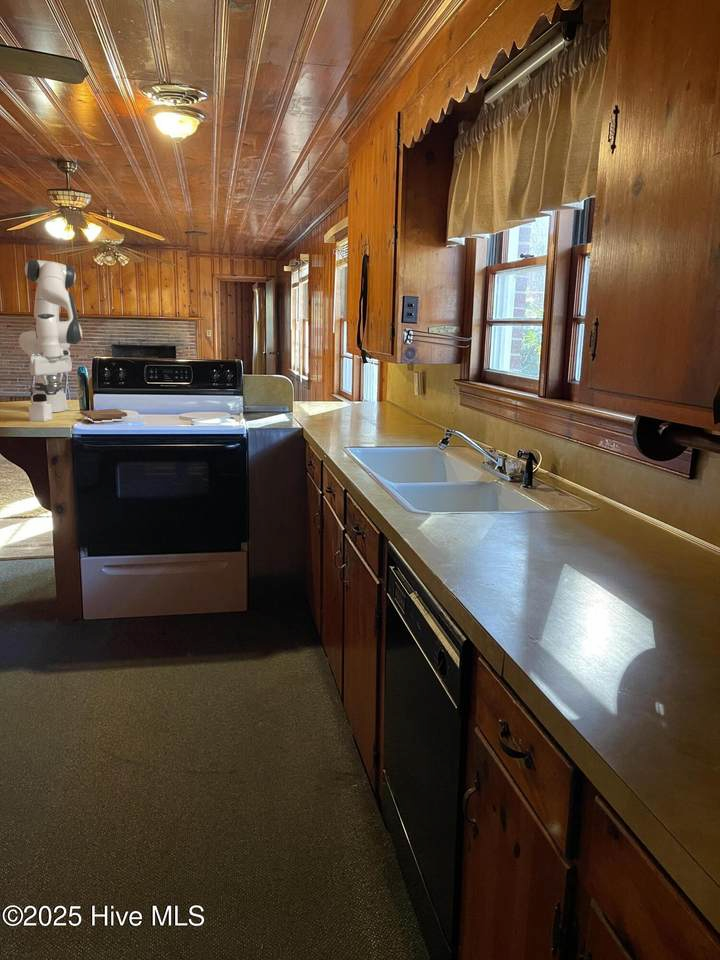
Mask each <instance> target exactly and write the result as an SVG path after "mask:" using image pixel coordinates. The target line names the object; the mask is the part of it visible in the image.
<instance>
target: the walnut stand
mask: <svg viewBox="0 0 720 960" xmlns="http://www.w3.org/2000/svg"><path fill="white" fill-rule="evenodd" d="M80 412H81V413H80V414H81V416H83V417H86V418H90V419H92V420H93V421H102V420H112V419H122V418H124V417H125V418H126V417H128V413H127V412H125V411H122V410H120V409H117V408H110V409H93V410H81V411H80Z"/></svg>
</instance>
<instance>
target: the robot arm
mask: <svg viewBox="0 0 720 960" xmlns="http://www.w3.org/2000/svg"><path fill="white" fill-rule="evenodd" d="M24 274H25V276H26V279H27V280H28V281H30V282H32V283H37V286H36V290H35V296H34V308H33V309H34V310H33V316H34V318H35V320H36V321H35V324H36V325H35V328H34V329H35V330H27V331H23V332H22V333H21V334H20V335H19V338H18V343H19V347H20V348H21V349H22V351H24V352H25V353H26V354H27V355H28V357H29V375H31V376H34V378H35V382H34V390H35V391H34V394H45V395H46V396H47V403H46V404H51V407H52V413H59V412H66V411H70V410H71V407H69V406H68V405H67V404H68V403H67V397H66V393H65V392H64V391H62V388H63V387H62V386H63V385H62V382H63V381H62V378H63V376H64V373H70V372H72V371H73V364H72V357H71V356H70V355H71V351H70V350H69V349H70V347H71V345H76V344H78V343H79V342H80V341H82V339H83V330H82V327H81V324H80V321H79V316H78V312H77V308H76V305H75V304H76V303H75V300H74V296H73V294H72V293H71V292H70V291H68V290H67V289H70V288H71V287H73V285H74V284H75V282H76V279H77V277H76V275H77V274H76V271H75V268H74V267H73V266H71V265H68V264H63V263H60V262H56V261H49V260H44V259H43V260H42V259H41V260H40V259H36V258H32V259H28V261H27V262H26V264H25V266H24ZM60 307H62V308H64V309H65V310H66V312H67V315H68V316H67V317H68V320H66V321H60ZM46 375H58V379H59V390H60V391H58V392H47V385H49V381H47V379H46ZM29 400H30V403H31V405H33V403H32V397H30V399H29Z"/></svg>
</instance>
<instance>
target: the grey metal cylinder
mask: <svg viewBox="0 0 720 960" xmlns="http://www.w3.org/2000/svg"><path fill="white" fill-rule="evenodd" d="M46 379H47V381H49V385H47V392H58V391H60V390H59V379H58V375H46Z"/></svg>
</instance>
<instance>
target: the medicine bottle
mask: <svg viewBox="0 0 720 960" xmlns="http://www.w3.org/2000/svg"><path fill="white" fill-rule="evenodd" d="M31 398H32V403H33V405H32V403H31V405H28V414H29V415H28V416H29V421H30V422H42V421H44V422H47V421H52V420H53V412H52V407H51V404H46V403H47V396H46V395H45V394H32V395H31Z"/></svg>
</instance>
